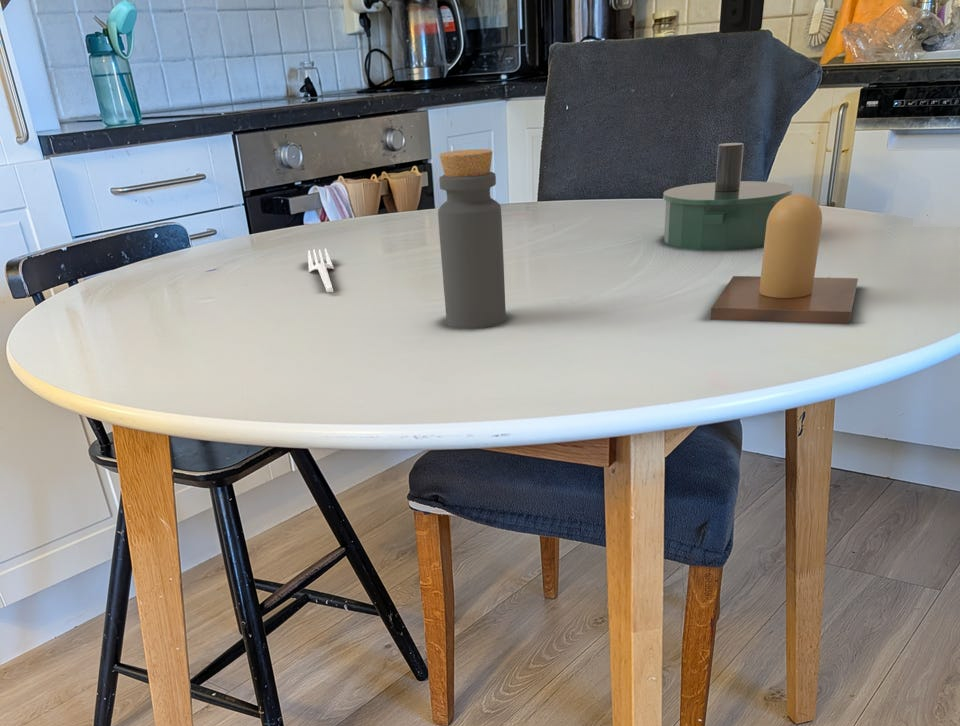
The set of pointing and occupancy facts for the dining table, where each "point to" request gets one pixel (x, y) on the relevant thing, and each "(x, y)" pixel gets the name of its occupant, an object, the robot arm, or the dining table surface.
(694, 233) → the pot
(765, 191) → the lid
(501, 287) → the bottle
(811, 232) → the tan domed cylinder
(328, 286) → the fork
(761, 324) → the dining table surface
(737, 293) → the board
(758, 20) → the robot arm
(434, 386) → the dining table surface
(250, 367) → the dining table surface
